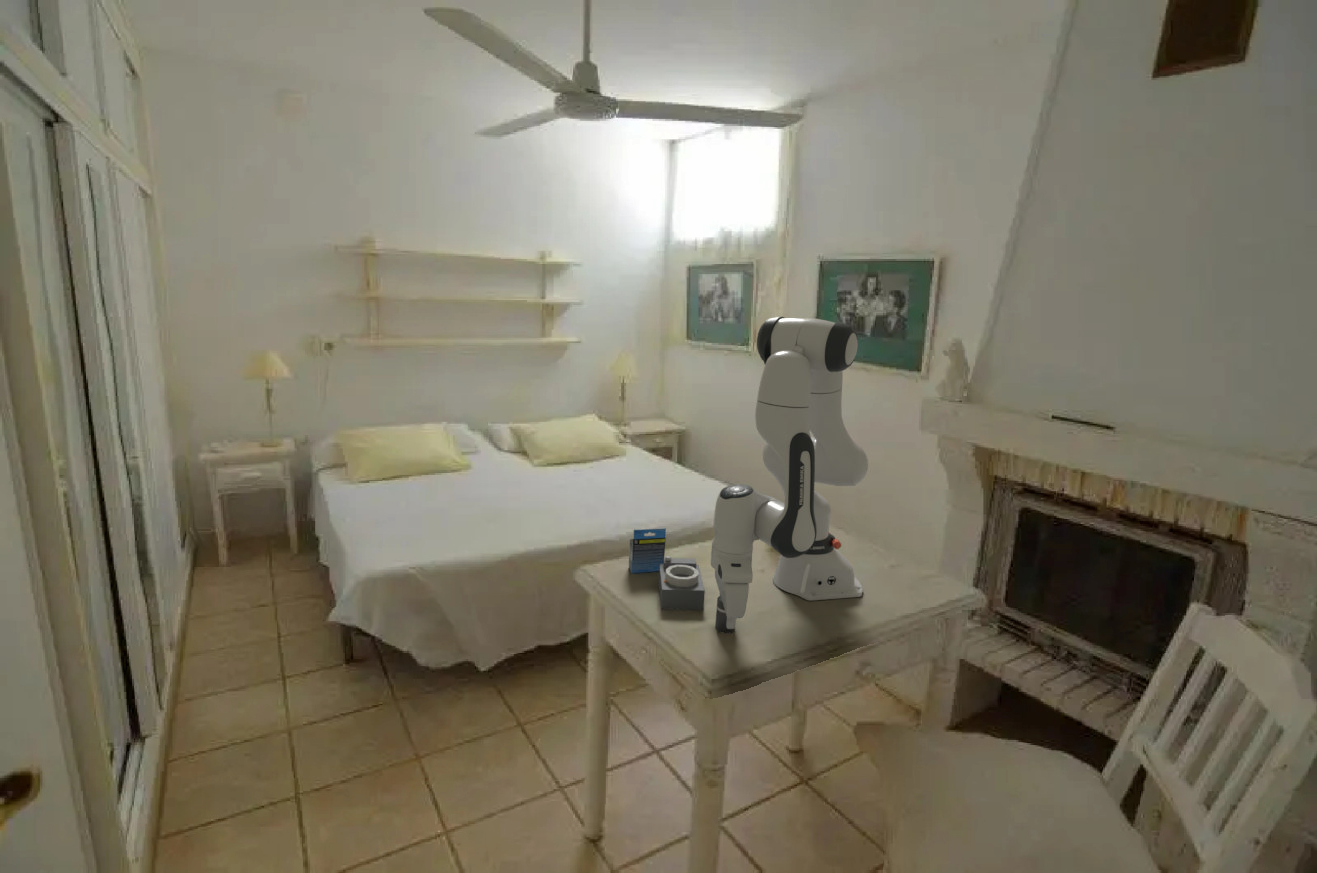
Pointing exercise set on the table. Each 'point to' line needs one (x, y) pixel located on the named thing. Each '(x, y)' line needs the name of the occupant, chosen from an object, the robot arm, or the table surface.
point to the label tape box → (647, 550)
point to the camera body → (681, 584)
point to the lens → (721, 618)
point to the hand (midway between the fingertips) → (726, 616)
